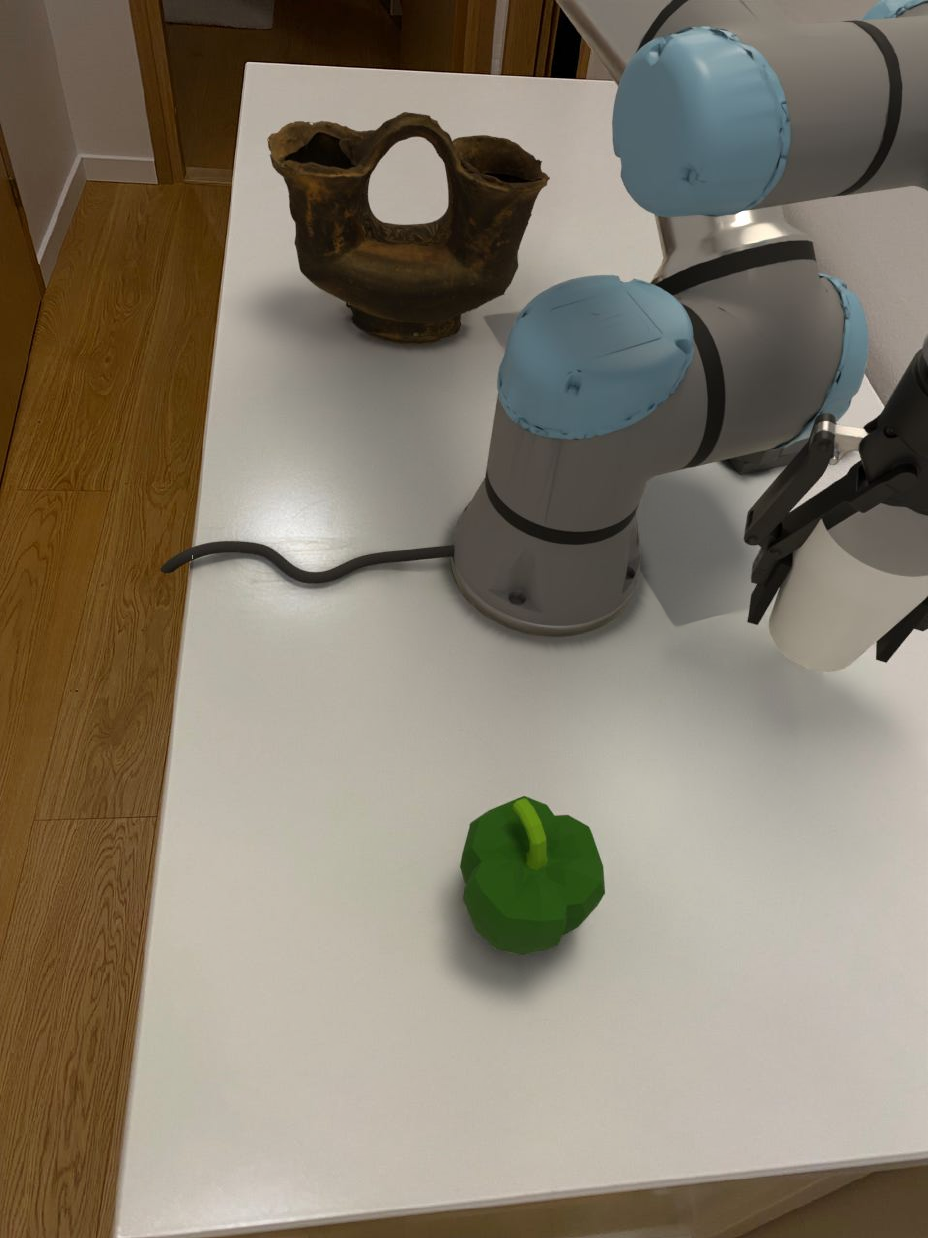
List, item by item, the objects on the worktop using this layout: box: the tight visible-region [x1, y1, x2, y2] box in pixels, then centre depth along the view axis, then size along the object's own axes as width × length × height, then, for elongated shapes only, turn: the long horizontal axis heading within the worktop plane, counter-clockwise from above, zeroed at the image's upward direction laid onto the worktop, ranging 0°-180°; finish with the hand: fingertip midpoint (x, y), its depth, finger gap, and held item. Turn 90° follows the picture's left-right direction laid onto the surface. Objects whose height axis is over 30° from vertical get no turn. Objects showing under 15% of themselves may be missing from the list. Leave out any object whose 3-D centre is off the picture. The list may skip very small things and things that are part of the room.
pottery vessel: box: [266, 111, 551, 345], centre depth 89 cm, size 25×11×20 cm, turn 94°
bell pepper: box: [459, 795, 606, 956], centre depth 56 cm, size 8×8×10 cm
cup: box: [768, 479, 928, 673], centre depth 64 cm, size 9×9×12 cm
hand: (817, 628), depth 68 cm, fingers closed on cup, 9 cm apart
